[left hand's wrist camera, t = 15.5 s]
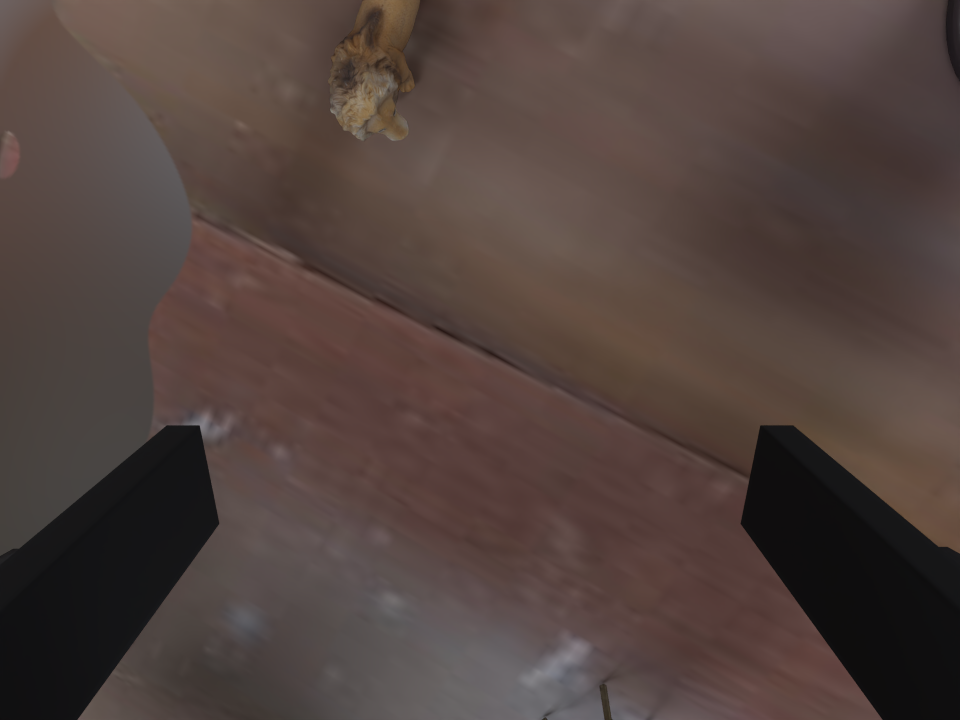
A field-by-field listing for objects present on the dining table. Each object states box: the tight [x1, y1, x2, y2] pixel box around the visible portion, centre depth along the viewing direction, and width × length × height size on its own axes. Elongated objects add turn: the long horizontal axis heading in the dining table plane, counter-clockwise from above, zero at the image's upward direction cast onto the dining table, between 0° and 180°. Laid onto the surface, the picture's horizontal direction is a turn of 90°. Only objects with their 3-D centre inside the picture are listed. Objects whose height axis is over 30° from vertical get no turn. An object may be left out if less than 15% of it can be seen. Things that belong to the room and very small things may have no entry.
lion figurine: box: [328, 0, 420, 141], centre depth 31 cm, size 15×5×9 cm, turn 162°
